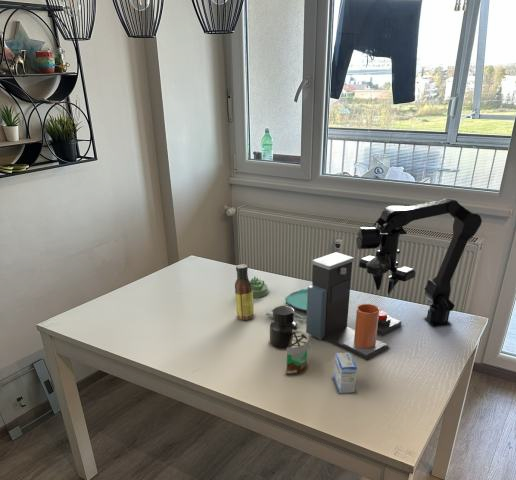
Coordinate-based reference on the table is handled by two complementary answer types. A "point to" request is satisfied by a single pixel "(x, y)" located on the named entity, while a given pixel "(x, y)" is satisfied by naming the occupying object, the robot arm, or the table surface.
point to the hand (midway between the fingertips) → (383, 291)
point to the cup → (366, 326)
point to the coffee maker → (334, 304)
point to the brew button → (382, 315)
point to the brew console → (387, 325)
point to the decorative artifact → (258, 287)
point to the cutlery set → (296, 302)
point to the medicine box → (345, 372)
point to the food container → (297, 352)
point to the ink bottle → (282, 327)
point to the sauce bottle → (243, 294)
